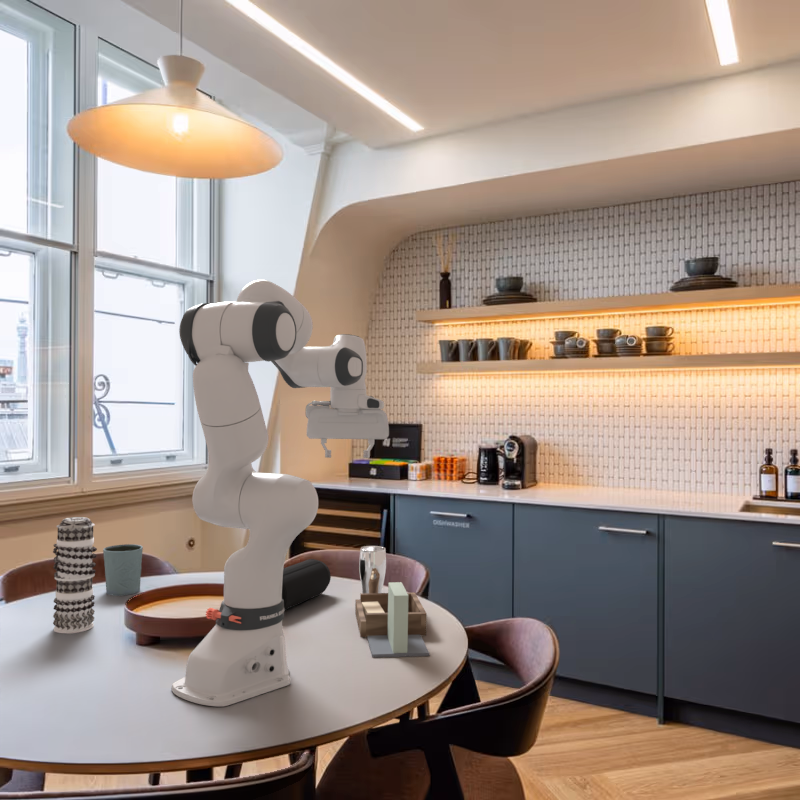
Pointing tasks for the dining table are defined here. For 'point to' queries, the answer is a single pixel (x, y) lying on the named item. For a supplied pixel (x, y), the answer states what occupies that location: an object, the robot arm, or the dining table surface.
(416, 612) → the open wooden box
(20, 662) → the dining table surface
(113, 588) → the green cup
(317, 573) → the portable speaker
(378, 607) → the offcut top
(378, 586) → the beer glass
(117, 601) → the dining table surface
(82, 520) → the decorative candle
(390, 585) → the sage panel
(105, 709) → the dining table surface
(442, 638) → the dining table surface
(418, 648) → the slate mat
